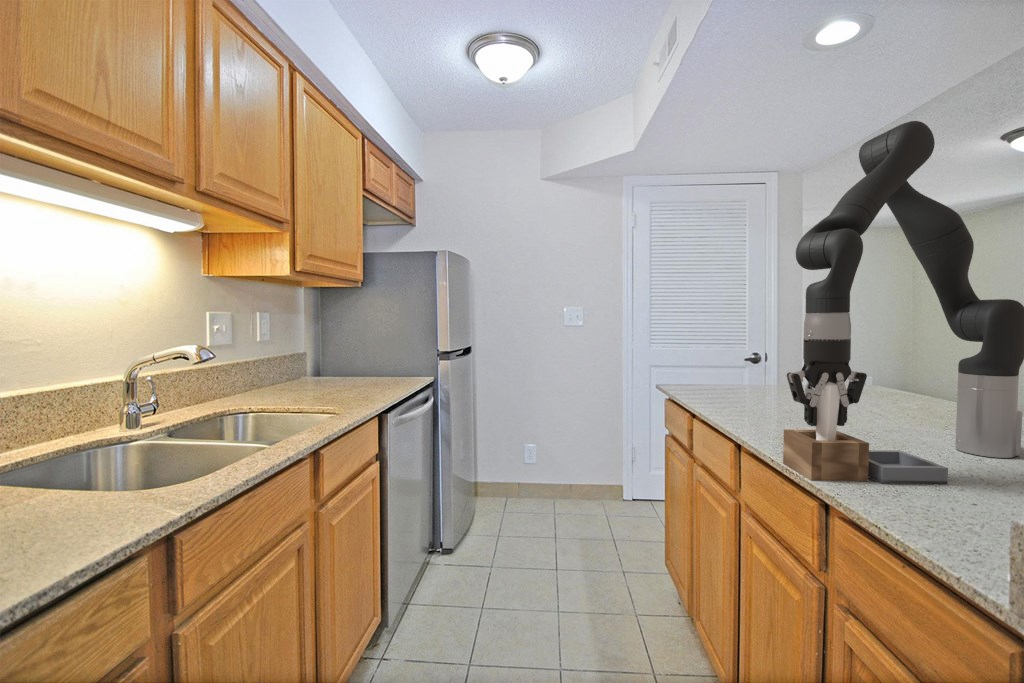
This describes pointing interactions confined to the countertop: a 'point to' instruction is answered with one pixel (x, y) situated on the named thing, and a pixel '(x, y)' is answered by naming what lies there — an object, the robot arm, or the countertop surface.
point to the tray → (904, 468)
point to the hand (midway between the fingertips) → (825, 424)
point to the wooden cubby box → (826, 456)
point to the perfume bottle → (827, 412)
